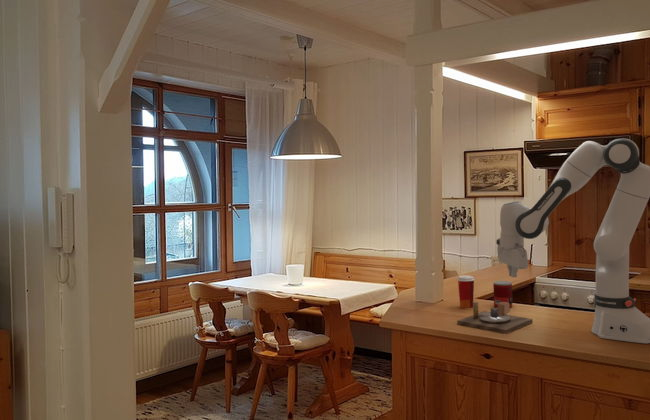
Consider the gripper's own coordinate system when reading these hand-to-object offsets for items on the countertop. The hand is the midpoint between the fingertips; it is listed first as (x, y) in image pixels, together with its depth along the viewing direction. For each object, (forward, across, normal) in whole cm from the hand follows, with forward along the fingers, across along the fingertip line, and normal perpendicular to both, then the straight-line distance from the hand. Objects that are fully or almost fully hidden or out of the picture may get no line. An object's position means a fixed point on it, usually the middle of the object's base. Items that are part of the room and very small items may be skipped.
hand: (512, 276), depth 232 cm
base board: (+19, +2, +7) cm, 21 cm away
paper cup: (+19, +31, +8) cm, 37 cm away
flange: (+17, +3, +6) cm, 19 cm away
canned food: (+19, +28, -8) cm, 35 cm away
